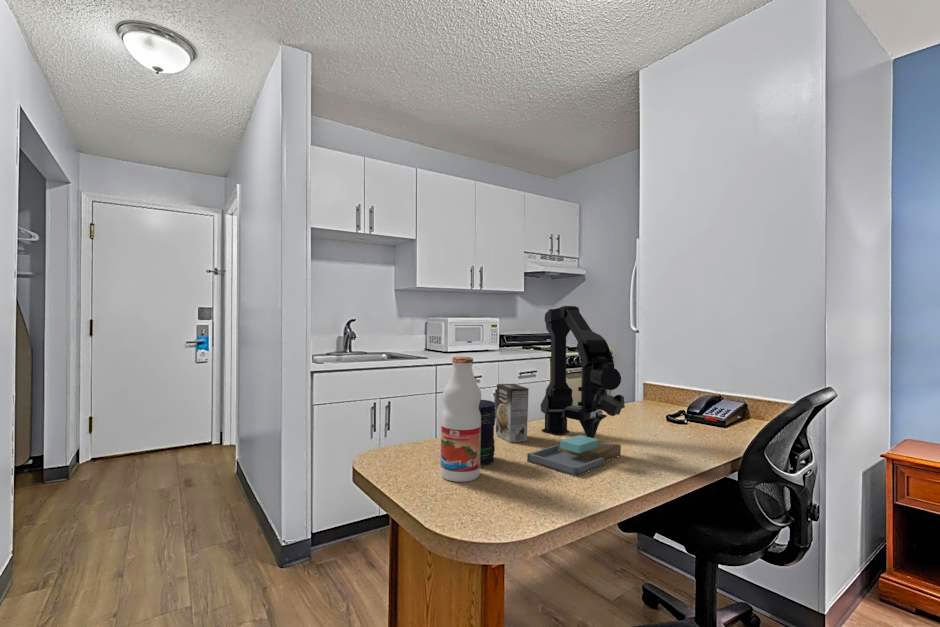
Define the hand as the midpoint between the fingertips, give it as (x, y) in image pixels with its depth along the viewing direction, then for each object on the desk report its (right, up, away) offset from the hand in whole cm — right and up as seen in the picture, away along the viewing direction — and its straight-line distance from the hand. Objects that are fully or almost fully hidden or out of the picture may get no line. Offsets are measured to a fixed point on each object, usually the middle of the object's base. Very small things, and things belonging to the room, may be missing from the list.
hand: (590, 440), depth 133 cm
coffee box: (-21, -4, +15) cm, 26 cm away
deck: (0, -4, 0) cm, 4 cm away
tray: (-9, -4, -8) cm, 12 cm away
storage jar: (-32, -4, -7) cm, 33 cm away
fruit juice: (-36, -4, -18) cm, 40 cm away
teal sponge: (-4, -1, -4) cm, 5 cm away
